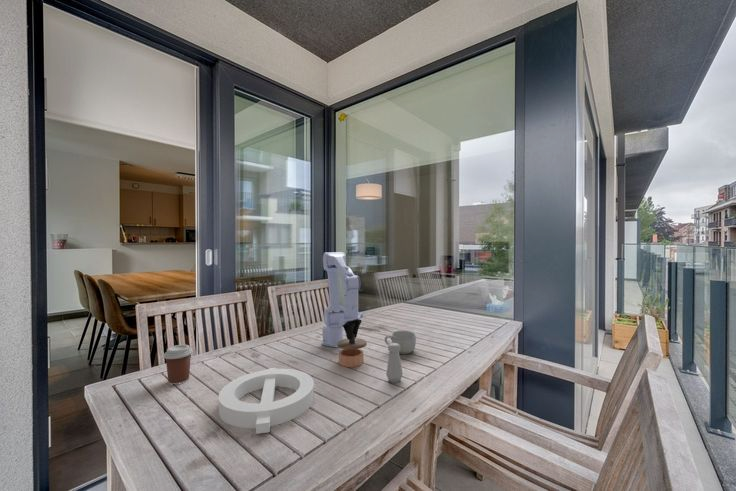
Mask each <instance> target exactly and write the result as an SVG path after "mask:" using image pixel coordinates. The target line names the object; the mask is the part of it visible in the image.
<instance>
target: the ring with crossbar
mask: <svg viewBox="0 0 736 491" xmlns="http://www.w3.org/2000/svg"><path fill="white" fill-rule="evenodd" d="M277 386H280V388H288V389H292V390H295V392H293V393H292V394H290V395H288V396H286V397H283V398H280V399H277V400H275V391H276V388H278V387H277ZM258 390H262V393H261V397H260V402H259V403H251V402H245V401H244V400H243V401H242V400H240V399H242V398H243V397H245V396H246V395H248V394H250V393H252V391H253V392H255V391H258ZM249 392H250V393H249ZM247 393H248V394H247ZM245 394H246V395H245ZM217 398H218V416H219V418H220V419H221V421H223V422H224V423H226V424H227V425H230V426H233V427H237V428H242V429H243V428H245V429H255V435H257V434H259V435H260V434H265V433H270V431H271V427H273V426H277V425H280V424H283V423H286V422H288V421H291V420H293V419H296V418H298V417H299V416H301V415H303V413H305V412H306V411H307V410H309V408H310V407H311V406H312V405H313V403H314V399H315V382H314V379H313V378H312V376H311V375H310V374H308V373H306V372H304V371H300V370H297V369H291V368H278V367H269V368H267V369H263V370H259V371H254V372H250V373H247V374H245V375H244V374H243V375H241V376H239V377H237V378H235V379H234V380H231V381H230V382H228V383H227V384H225V385H224V386H223V387H222V389H220V391H219V393H218V396H217Z"/></svg>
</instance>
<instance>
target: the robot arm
mask: <svg viewBox="0 0 736 491" xmlns="http://www.w3.org/2000/svg"><path fill="white" fill-rule="evenodd" d="M322 267H323V270H324V271H326V273H327V283H328V297H329V298H328V299H329V301H328V302H329V304H328V306H327V307H326V308H325V309H324V311H323V313H324V314H323V322H324V326H323V328H322V343H321V345H322V346H326V347H332V348H336V349H337V348H339V347H338V345H337V343H338V342H339V341H341V340H344V332H345V336H346V339H348V340H352V338H353V333H354V334H355V338H358V332H359V328H360V325H361V324H362V318H364V313H363V312H359V290H360V289H361V283H362V282H361V279H360V276H359V275H356V274H355V273H354V272H353V270H352V269H351V267H349V266H347V265H346V253H345V252H344V251H340V252H339V251H337V252H336V251H335V252H334V251H333V252H332V251H331V252H324V253H323V255H322ZM339 278H340V280H341V286H342V294H343V295H344V296H343V297H344V306H342V305H340V304H341V303H340V293H339Z"/></svg>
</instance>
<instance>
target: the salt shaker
mask: <svg viewBox="0 0 736 491" xmlns="http://www.w3.org/2000/svg"><path fill="white" fill-rule="evenodd" d="M389 343H390V342H389ZM387 346H388V347H387V348H388V349H387V350H388V352H389V354H388V355H389V356H388V360H387V368H386V373H385V375H386V378H387V379H388V382H389V383H393V384H398V383H400V382H401V380H402V377H403V373H404V372H403V367H402V363H401V357H400V353H399V351H400V345H399V344H397V343H392V342H391V343H390V344H389V345H387Z"/></svg>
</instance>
